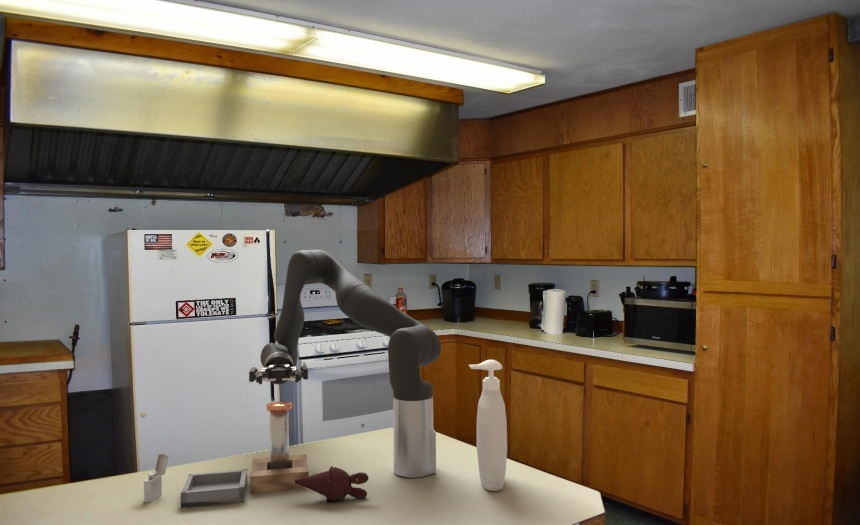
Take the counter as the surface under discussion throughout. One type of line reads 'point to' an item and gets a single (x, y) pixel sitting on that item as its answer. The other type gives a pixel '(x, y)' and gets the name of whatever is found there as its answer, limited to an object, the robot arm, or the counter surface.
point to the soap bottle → (491, 429)
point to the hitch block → (277, 474)
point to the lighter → (155, 479)
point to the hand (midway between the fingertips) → (278, 379)
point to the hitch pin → (279, 434)
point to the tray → (214, 488)
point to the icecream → (335, 484)
